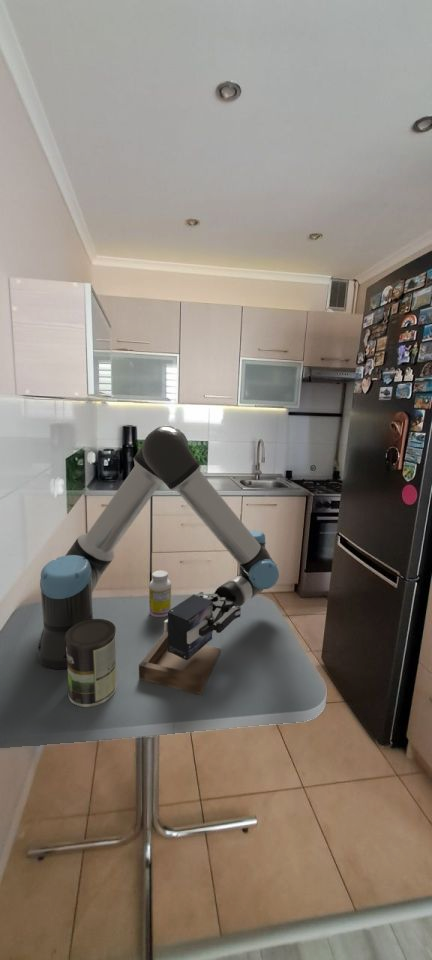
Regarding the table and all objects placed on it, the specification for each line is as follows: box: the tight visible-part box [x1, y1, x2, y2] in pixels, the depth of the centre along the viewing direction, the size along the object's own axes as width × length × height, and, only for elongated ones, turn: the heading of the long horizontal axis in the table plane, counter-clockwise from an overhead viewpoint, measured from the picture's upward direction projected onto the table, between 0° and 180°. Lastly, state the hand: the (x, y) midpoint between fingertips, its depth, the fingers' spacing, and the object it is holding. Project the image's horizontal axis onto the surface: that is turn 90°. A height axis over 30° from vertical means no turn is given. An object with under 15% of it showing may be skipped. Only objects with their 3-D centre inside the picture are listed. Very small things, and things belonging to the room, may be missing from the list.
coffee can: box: [65, 618, 118, 708], centre depth 80 cm, size 10×10×14 cm
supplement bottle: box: [148, 569, 172, 618], centre depth 112 cm, size 7×7×13 cm
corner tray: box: [138, 631, 222, 696], centre depth 89 cm, size 15×16×4 cm
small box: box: [167, 594, 214, 660], centre depth 88 cm, size 11×6×10 cm, turn 147°
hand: (176, 632), depth 84 cm, fingers closed on small box, 6 cm apart
